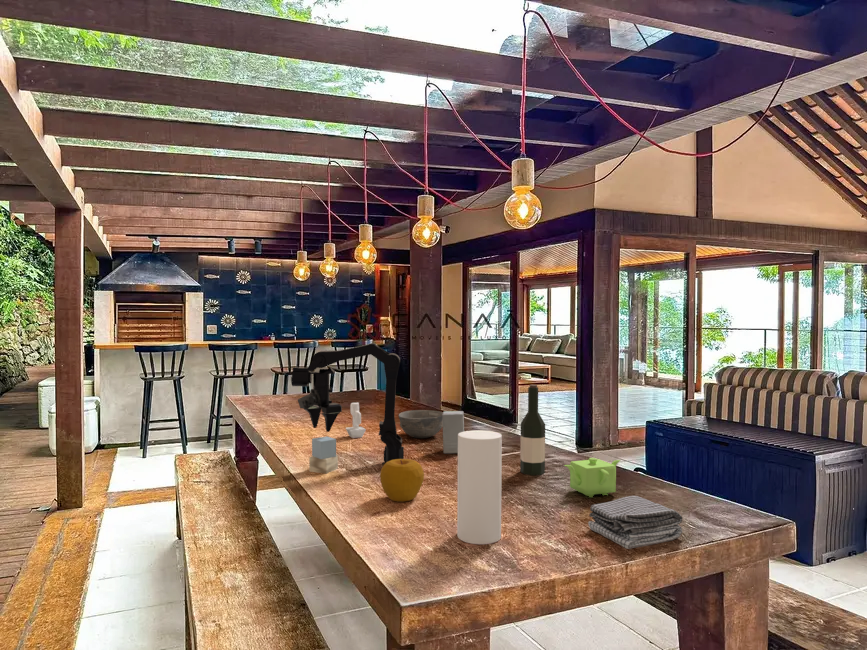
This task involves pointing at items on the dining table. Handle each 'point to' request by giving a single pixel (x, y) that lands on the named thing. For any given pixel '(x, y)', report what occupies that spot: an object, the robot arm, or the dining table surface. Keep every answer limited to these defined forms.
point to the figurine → (355, 422)
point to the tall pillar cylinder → (479, 486)
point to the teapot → (593, 476)
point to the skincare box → (452, 430)
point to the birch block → (323, 464)
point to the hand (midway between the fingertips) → (321, 429)
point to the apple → (401, 479)
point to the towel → (635, 522)
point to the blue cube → (324, 447)
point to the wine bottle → (532, 437)
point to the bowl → (421, 423)
